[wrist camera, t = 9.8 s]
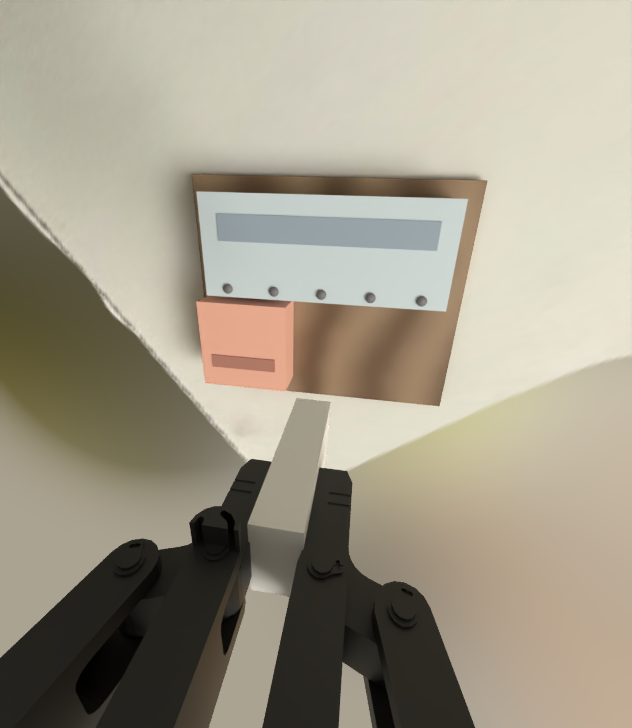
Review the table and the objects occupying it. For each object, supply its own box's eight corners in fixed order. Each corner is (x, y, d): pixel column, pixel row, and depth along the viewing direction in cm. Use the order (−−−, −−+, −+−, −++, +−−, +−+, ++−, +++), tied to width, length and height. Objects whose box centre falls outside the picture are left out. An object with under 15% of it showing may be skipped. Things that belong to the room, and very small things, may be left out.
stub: (219, 368, 35) (204, 383, 32) (212, 293, 32) (195, 301, 29) (293, 375, 34) (285, 391, 31) (293, 299, 31) (285, 308, 28)
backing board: (216, 379, 37) (213, 383, 36) (196, 175, 29) (191, 174, 28) (437, 402, 34) (439, 406, 33) (484, 181, 26) (487, 180, 25)
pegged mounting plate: (223, 287, 32) (206, 295, 28) (215, 194, 29) (195, 191, 25) (437, 301, 29) (446, 312, 26) (456, 201, 26) (468, 198, 23)
